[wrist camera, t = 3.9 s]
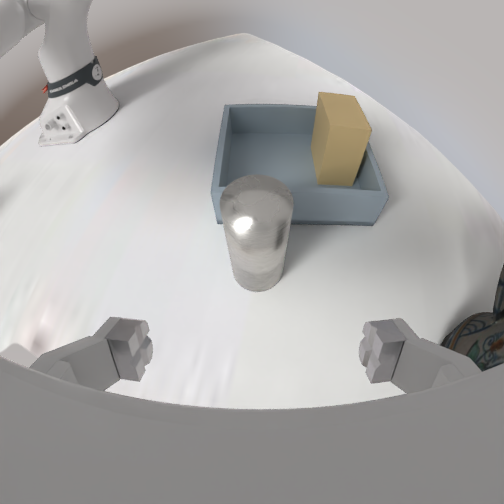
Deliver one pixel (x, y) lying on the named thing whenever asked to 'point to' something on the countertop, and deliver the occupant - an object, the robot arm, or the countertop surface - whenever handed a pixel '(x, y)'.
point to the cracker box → (338, 139)
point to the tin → (257, 229)
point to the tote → (292, 165)
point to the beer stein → (481, 334)
